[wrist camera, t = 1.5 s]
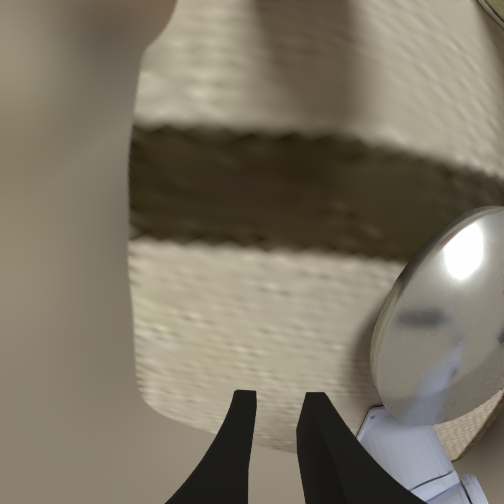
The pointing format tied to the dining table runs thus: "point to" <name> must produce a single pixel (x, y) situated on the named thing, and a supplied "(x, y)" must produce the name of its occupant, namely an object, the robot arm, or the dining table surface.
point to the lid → (444, 324)
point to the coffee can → (494, 9)
